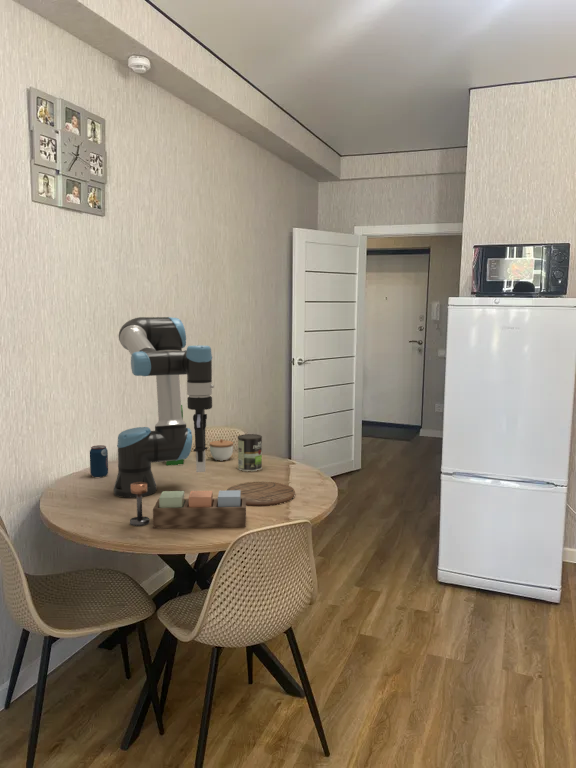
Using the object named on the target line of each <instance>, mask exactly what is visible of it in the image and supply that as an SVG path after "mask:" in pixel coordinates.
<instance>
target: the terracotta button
mask: <svg viewBox="0 0 576 768" xmlns="http://www.w3.org/2000/svg"><path fill="white" fill-rule="evenodd" d="M213 494H214V493H213V490H191V491H190V493H189V496H188V499H189V507H212V504H213V496H214V495H213Z"/></svg>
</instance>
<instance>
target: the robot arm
mask: <svg viewBox="0 0 576 768" xmlns="http://www.w3.org/2000/svg"><path fill="white" fill-rule="evenodd" d="M186 334H187V333H186V329H185V326H184V323H183V321H182V320H181V319H179V318H178V317H170V316H167V317H166V316H164V317H161V316H160V317H159V316H157V317H156V316H155V317H154V316H153V317H152V316H150V317H149V316H148V317H145V316H140V317H135V318H133V319H132V318H131V319H130V320H128V321H126V322H125V323H123V325H122V326H120V329H119V332H118V341H119V344H120V345H121V346H122V348H123V349H125V350H126V351H128V352H129V354H130V369H131V373H132V375H134V376H135V377H141V376H142V377H150V376H153V377H154V376H155V377H156V381H155V382H156V395H157V396H156V398H157V417H158V421H157V423H156V424H155V425H154V430H151V428H150V427H148V426H138V427H132V428H129V429H125V430H122V431H121V432H120V433H119V434H118V435H117V445H116V446H117V467H118V469H117V470H118V471H117V475H116V479H115V482H114V486H113V495H114V496H117V497H121V498H129V499H130V498H132V499H133V498H137V494H132V493H131V484H132V483H135V482H146V483H147V492H146V493H143V494H142V498H143V497H147V496H150V495H153V494H155V493H156V492H157V483H156V480H155V477H154V475H153V471H152V463H160V462H161V463H162V462H166V461H173V460H175V461H177V460H181V459H184V460H185V459H187V458H188V457H190V454H191V451H192V446H193V435H192V430H191V428H189V427H187V423H186V422H185V421H184V419H183V420H182V413H181V405H182V400H181V399H182V398H181V385H180V384H181V383H180V375H182V376H183V375H185V376H186V381H187V382H186V395H188V397H187V399H186V400H187V403H186V404H187V409H188V410H192V411H193V410H194V414H193V416H192V420H193V429H194V440H195V443H194V444H195V445H194V446H195V447H194V449H193V452H194V453H195V465H196V467H195V472H196V473H206V450H208V447H206V445H207V444H206V428H207V419H208V414H207V413H206V412H205V410H211V409H212V408H213V396H212V394H213V389H214V388H215V385H213V384H212V383H213V378H212V377H213V373H212V372H213V368H212V367H213V365H212V364H213V363H212V362H213V361H212V360H213V356H212V355H213V354H212V348H211V346H210V345H189V346H186V345H187V335H186ZM185 347H186V350H185V349H184V350H183V348H185Z"/></svg>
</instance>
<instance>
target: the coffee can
mask: <svg viewBox="0 0 576 768" xmlns="http://www.w3.org/2000/svg"><path fill="white" fill-rule="evenodd" d="M237 440H238V441H237V453H238V454H237V456H238V457H237V465H238V466H237V470H239V471H241V470H242V472H248V471H251V472H258V471H257V470H259V471H261V470H262V469H263V467H262V464H263V461H262V460H263V459H262V455H263V453H262V452H263V446H262V445H263V436H262V435H260V434H257V433H255V434H254V433H252V434H250V433H248V434H247V433H245V434H240V435H238V436H237ZM260 469H261V470H260Z"/></svg>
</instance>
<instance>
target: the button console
mask: <svg viewBox="0 0 576 768" xmlns="http://www.w3.org/2000/svg"><path fill="white" fill-rule="evenodd" d="M152 520H153V521H152V522H153V523H152V525H153V527H152V528H153V529H191V528H202V529H203V528H246V525H247V505H246V498H241V504H240V507H218V497H214V498H213V504H212V507H189V498H185V503H184V506H183V507H181V508H159V498H158V499H157V501H156V503H155V504H154V506H153V509H152Z"/></svg>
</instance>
